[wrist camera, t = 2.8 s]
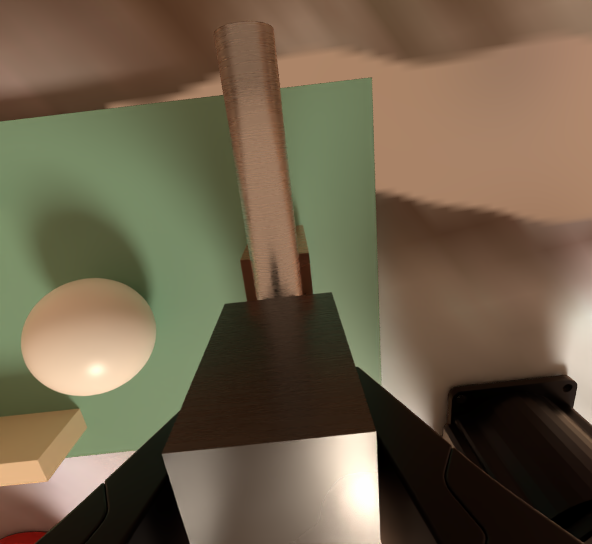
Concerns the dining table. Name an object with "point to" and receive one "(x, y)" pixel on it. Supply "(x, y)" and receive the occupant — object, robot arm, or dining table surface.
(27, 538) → the canned food
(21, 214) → the pitch
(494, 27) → the dining table surface
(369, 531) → the kicker rod
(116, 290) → the ball
